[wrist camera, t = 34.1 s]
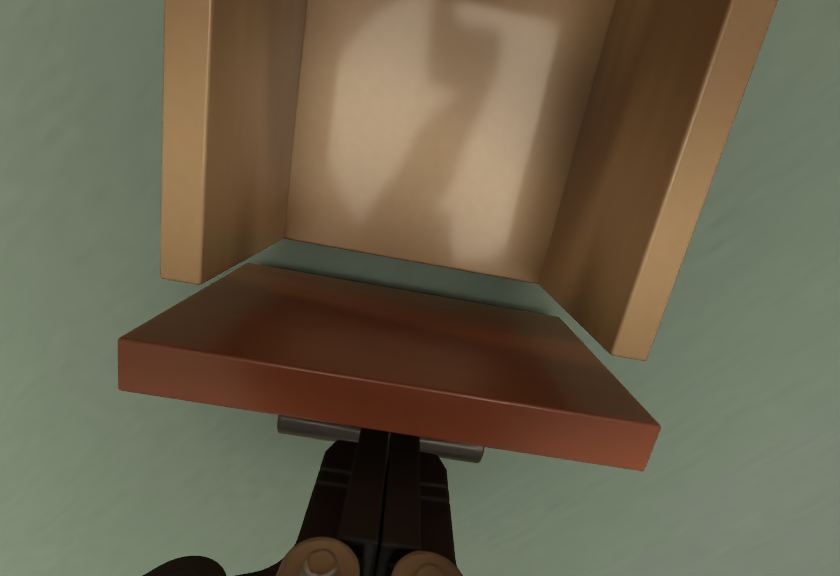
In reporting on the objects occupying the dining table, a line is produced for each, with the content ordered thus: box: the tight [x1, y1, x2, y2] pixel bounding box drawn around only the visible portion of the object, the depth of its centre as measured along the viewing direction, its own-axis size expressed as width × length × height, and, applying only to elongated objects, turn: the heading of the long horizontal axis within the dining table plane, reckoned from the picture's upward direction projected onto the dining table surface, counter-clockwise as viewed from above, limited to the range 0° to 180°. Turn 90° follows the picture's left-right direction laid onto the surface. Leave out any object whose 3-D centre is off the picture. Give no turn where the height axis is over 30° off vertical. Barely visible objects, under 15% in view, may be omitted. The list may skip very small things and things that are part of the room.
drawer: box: [118, 0, 778, 471], centre depth 11 cm, size 20×11×7 cm, turn 169°
